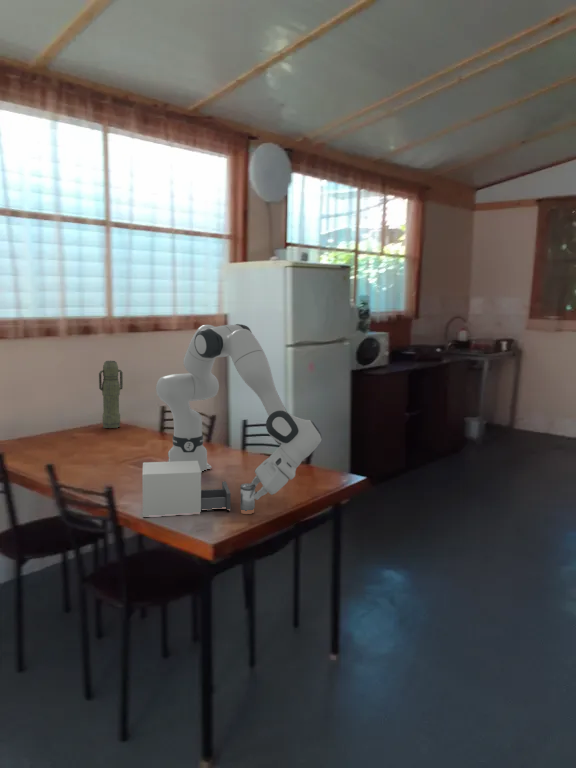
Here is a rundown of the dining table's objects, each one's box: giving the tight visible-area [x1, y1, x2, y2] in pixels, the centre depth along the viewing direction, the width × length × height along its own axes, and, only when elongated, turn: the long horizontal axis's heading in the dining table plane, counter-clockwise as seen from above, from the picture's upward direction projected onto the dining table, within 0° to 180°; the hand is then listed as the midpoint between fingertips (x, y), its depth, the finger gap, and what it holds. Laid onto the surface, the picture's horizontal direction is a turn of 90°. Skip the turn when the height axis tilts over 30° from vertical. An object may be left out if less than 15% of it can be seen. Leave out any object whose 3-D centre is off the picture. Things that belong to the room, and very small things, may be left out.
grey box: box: [141, 461, 202, 517], centre depth 195 cm, size 14×18×14 cm
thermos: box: [98, 360, 124, 429], centre depth 314 cm, size 9×12×35 cm
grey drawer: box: [201, 480, 231, 510], centre depth 198 cm, size 13×17×6 cm
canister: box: [240, 482, 256, 511], centre depth 194 cm, size 5×5×9 cm
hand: (252, 493), depth 195 cm, fingers open, 8 cm apart
